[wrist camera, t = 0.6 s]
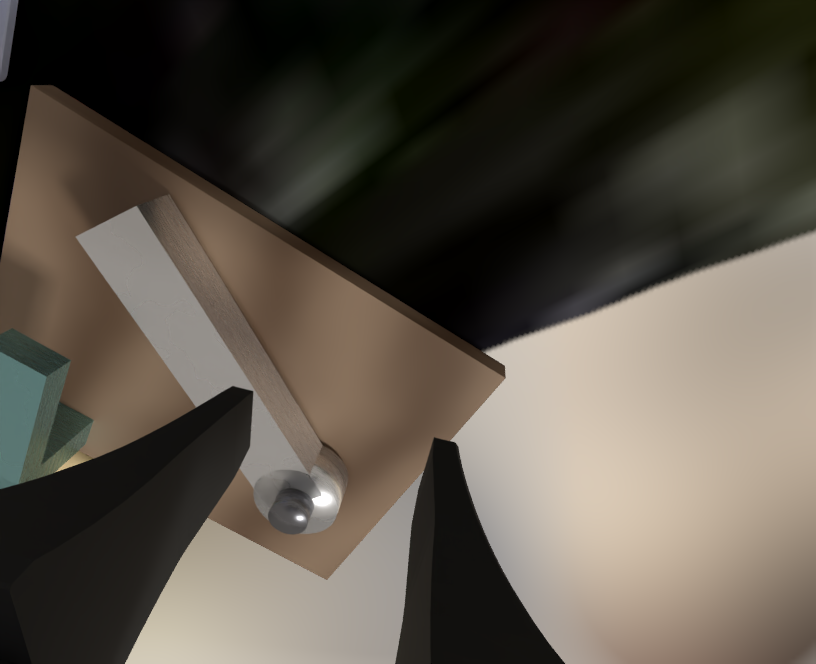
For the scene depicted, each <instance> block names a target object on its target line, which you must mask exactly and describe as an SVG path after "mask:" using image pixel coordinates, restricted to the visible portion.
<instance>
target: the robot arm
mask: <svg viewBox="0 0 816 664" xmlns="http://www.w3.org/2000/svg"><path fill="white" fill-rule="evenodd" d="M17 7H18V0H0V81H4V80H5V79H6V77H7V74H8V67H9V60H10V54H11V47H12V40H13V34H14V27H15V20H16V13H17ZM252 408H253V391H251V390H247V389H243V388H239V387H235V386H232V387H230V388H228V389H226V390H225V391H223V392H221V393H219V394H218V395H216V396H214V397H213V398H211V399H209V400H208V401H206V402H204V403H203V404H201V405H199V406H198V407H196V408H194V409H193V410H191V411H189V412H187V413H186V414H184V415H182V416H180V417H179V418H177V419H175V420H173V421H172V422H170V423H168V424H166V425H165V426H163V427H161V428H159V429H157V430H155V431H153V432H151V433H149V434H147V435H145V436H143V437H141V438H139V439H137V440H135V441H133V442H131V443H129V444H127V445H125V446H123V447H120V448H118V449H116V450H113V451H111V452H109V453H106V454H104V455H102V456H99V457H97V458H94V459H92V460H89V461H86V462H84V463H81V464H78V465H75V466H72V467H70V468H67V469H64V470H61V471H58V472H55V473H53V474H50V475H47V476H44V477H40V478H37V479H34V480H30V481H27V482H24V483H20V484H17V485H13V486H9V487H6V488H2V489H0V664H125V662H126V660H127V658H128V656H129V654H130V652H131V650H132V648H133V646H134V644H135V642H136V640H137V638H138V636H139V634H140V632H141V630H142V628H143V627H144V625H145V623H146V621H147V619H148V617H149V615H150V613H151V611H152V609H153V607H154V605H155V604H156V602H157V600H158V598H159V596H160V594H161V592H162V591H163V589H164V587H165V585H166V583H167V581H168V580H169V578H170V576H171V574H172V572H173V571H174V569H175V567H176V565H177V563H178V561H179V560H180V558H181V557H182V555H183V553H184V552H185V550H186V549H187V547H188V545H189V544H190V542H191V541H192V539H193V538H194V537H195V535H196V534H197V532H198V531H199V529H200V528H201V526H202V525H203V523H204V522H205V520H206V519H207V518H208V516H209V515H210V513H211V512H212V510H213V509H214V507H215V506H216V504H217V503H218V501H219V500H220V499H221V497H222V496H223V494H224V493H225V491H226V490H227V488H228V487H229V485H230V484H231V482H232V481H233V479H234V477H235V475H236V474H237V472H238V470H239V468H240V466H241V464H242V462H243V460H244V458H245V456H246V454H247V452H248V450H249V448H250V440H251V424H252ZM395 664H565V663H564V662H563V661H562V659H561V658H560V657H559V656H558V654H557V653H556V652H555V651H554V649H553V648H552V647H551V645H550V644H549V643H548V642H547V640H546V639H545V637H544V636H543V634H542V633H541V632H540V630H539V629H538V627H537V626H536V624H535V623H534V622H533V620H532V618H531V617H530V615H529V614H528V612H527V611H526V609H525V607H524V606H523V604H522V602H521V601H520V600H519V598H518V596H517V595H516V593H515V591H514V590H513V588H512V586H511V585H510V583H509V581H508V579H507V577H506V576H505V574H504V572H503V570H502V568H501V566H500V564H499V563H498V560H497V558H496V557H495V555H494V552H493V550H492V548H491V546H490V544H489V542H488V540H487V537H486V535H485V533H484V530H483V528H482V525H481V523H480V520H479V518H478V515H477V513H476V510H475V507H474V504H473V501H472V498H471V495H470V492H469V489H468V486H467V483H466V479H465V476H464V472H463V468H462V464H461V460H460V455H459V449H458V446H457V444H456V443H455V442H451V441H447V440H443V439H439V438H435V437H434V439H433V442H432V445H431V449H430V452H429V456H428V459H427V462H426V466H425V469H424V473H423V476H422V480H421V483H420V486H419V490H418V495H417V500H416V505H415V510H414V515H413V520H412V527H411V538H410V550H409V562H408V574H407V586H406V597H405V608H404V615H403V623H402V629H401V634H400V640H399V646H398V652H397V657H396V663H395Z"/></svg>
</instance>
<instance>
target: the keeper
mask: <svg viewBox="0 0 816 664" xmlns="http://www.w3.org/2000/svg"><path fill="white" fill-rule="evenodd" d="M70 363H71V360H70V359H68V358H66V357H64V356H62V355H61V354H59V353H57V352H55V351H53V350H51V349H50V348H48V347H46V346H44V345H42V344H40V343H39V342H37V341H35V340H33V339H31V338H30V337H28V336H26V335H24V334H22V333H20V332H19V331H17V330H15V329H13V328H11V329H10V330H8V331H6V332H4V333H2V334H0V489H2V488H6V487H9V486H13V485H17V484H20V483H24V482H27V481H30V480H34V479H37V478H40V477H44V476H47V475H50V474H53V473H54V472H56V471H57V470H58V469H59V468H60V467H61V466H62V465H63V464H64V463H65V462H67V461H68V460H69V459H70V458H71V457H72V456H73V455H74V454H75V453H76V452H78V451H79V450H80V449H81V448H82V447H83V446H84V445H85V444H86V441H87V438H88V435H89V433H90V430H91V427H92V424H93V421H94V420H93V419H91V418H89V417H87V416H85V415H83V414H82V413H80V412H78V411H76V410H74V409H72V408H70V407H68V406H67V405H65V404H63V403H61V402H59V401H60V397H61V394H62V390H63V387H64V383H65V380H66V376H67V373H68V370H69V366H70Z"/></svg>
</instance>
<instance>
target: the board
mask: <svg viewBox="0 0 816 664" xmlns="http://www.w3.org/2000/svg"><path fill="white" fill-rule="evenodd" d="M168 194H170V196H171V197H172V199H173V201H174V202H175V204H176V206H177V207H178V209H179V211H180V212H181V214H182V215H183V217H184V219H185V220H186V222H187V224H188V225H189V227H190V229H191V230H192V232H193V233H194V235H195V237H196V238H197V240H198V242H199V243H200V245H201V247H202V248H203V250H204V252H205V253H206V255H207V256H208V258H209V260H210V261H211V263H212V265H213V266H214V268H215V270H216V271H217V273H218V274H219V276H220V278H221V279H222V281H223V283H224V284H225V286H226V288H227V289H228V291H229V292H230V294H231V296H232V297H233V299H234V301H235V302H236V304H237V306H238V307H239V309H240V311H241V312H242V314H243V315H244V317H245V319H246V320H247V322H248V324H249V325H250V327H251V329H252V330H253V332H254V333H255V335H256V337H257V338H258V340H259V342H260V343H261V345H262V347H263V348H264V350H265V352H266V353H267V355H268V356H269V358H270V360H271V361H272V363H273V365H274V366H275V368H276V370H277V371H278V373H279V374H280V376H281V378H282V379H283V381H284V383H285V384H286V386H287V388H288V389H289V391H290V392H291V394H292V396H293V397H294V399H295V401H296V402H297V404H298V406H299V407H300V409H301V411H302V412H303V414H304V415H305V417H306V419H307V420H308V422H309V424H310V425H311V427H312V429H313V430H314V432H315V433H316V435H317V437H318V438H319V440H320V442H321V443H322V445H323V446H325V447H327V448H329V449H330V450H332V451H333V452H334V453H336V454H337V455H338V456H339V457H340V459H341V460H342V461H343V463H344V464H345V466H346V468H347V471H348V484H347V487H346V490H345V493H344V496H343V499H342V502H341V505H340V508H339V511H338V513H337V516H336V519H335V521H334V522H333V524H332V525H331V526H329V527H328V528H327V529H325V530H323V531H321V532H317V533H312V534H300V533H299V534H294V535H291V534H285V533H282V532H280V531H278V530H277V529H275V528H274V527H273V526H272V525H271V524H270V522H269V520H268V519H266V518H265V517H264V516H263V515H262V513H261V512H260V511H259V509H258V508H257V506H256V504H255V501H254V495H253V492H254V488H253V487H252V485H251V484H250V482H249V481H248V480H247V478H246V477H245V475H244V474H243V473H242V471H241V470H240V468H239V470H238V472H237V474H236V475H235V477H234V479H233V481H232V482H231V484H230V485H229V487H228V488H227V490H226V491H225V493H224V494H223V496H222V497H221V499H220V500H219V501H218V503H217V504H216V506H215V507H214V509H213V510H212V512H211V513H210V515H209V516H208V518H209V519H211V520H213V521H215V522H217V523H219V524H221V525H223V526H224V527H226V528H228V529H230V530H232V531H234V532H236V533H238V534H240V535H242V536H244V537H246V538H248V539H249V540H251V541H253V542H255V543H257V544H259V545H261V546H263V547H265V548H267V549H269V550H271V551H273V552H274V553H276V554H278V555H280V556H282V557H284V558H286V559H288V560H290V561H292V562H294V563H295V564H298V565H299V566H301V567H303V568H305V569H307V570H309V571H311V572H313V573H315V574H317V575H318V576H320V577H322V578H324V579H326V580H327V579H328V578H329V577H330V576H331V575H332V574H333V572H334V571H335V570H336V569H337V568H338V567H339V565H340V564H341V563H342V562H343V561H344V560H345V559H346V558H347V556H348V555H349V554H350V553H351V552H352V551H353V550H354V549H355V548H356V546H357V545H358V544H359V543H360V542H361V541H362V540H363V538H364V537H365V536H366V535H367V534H368V533H369V532H370V531H371V529H372V528H373V527H374V526H375V525H376V524H377V523H378V521H379V520H380V519H381V518H382V517H383V516H384V515H385V514H386V512H387V511H388V510H389V509H390V508H391V507H392V506H393V505H394V503H395V502H396V501H397V500H398V499H399V498H400V496H401V495H402V494H403V493H404V492H405V491H406V490H407V489H408V488H409V487H410V485H411V484H412V483H413V482H414V481H415V480H416V479H417V478H418V476H419V475H420V474H421V473H422V472H423V471H424V469H425V466H426V462H427V459H428V456H429V452H430V449H431V445H432V442H433V439H434V437H435V438H439V439H443V440H447V441H450V440H451V439H452V438H453V437H454V436H455V434H456V433H457V432H458V431H459V430H460V429H461V428H462V427H463V425H464V424H465V423H466V422H467V421H468V420H469V419H470V417H471V416H472V415H473V414H474V413H475V412H476V411H477V410H478V409H479V407H480V406H481V405H482V404H483V403H484V402H485V401H486V400H487V398H488V397H489V396H490V395H491V394H492V393H493V392H494V391H495V389H496V388H497V387H498V386H499V385H500V383H501V382H502V381H503V380H504V379H505V366H504V365H502V364H501V363H499V362H498V361H496V360H495V359H493V358H491V357H490V356H488V355H486V354H485V353H483V352H482V351H480V350H478V349H477V348H475V347H474V346H472V345H470V344H469V343H467V342H466V341H464V340H462V339H461V338H459V337H457V336H456V335H454V334H453V333H451V332H449V331H448V330H446V329H445V328H443V327H441V326H440V325H438V324H437V323H435V322H433V321H432V320H430V319H428V318H427V317H425V316H424V315H422V314H420V313H419V312H417V311H416V310H414V309H412V308H411V307H409V306H408V305H406V304H404V303H403V302H401V301H399V300H398V299H396V298H395V297H393V296H391V295H390V294H388V293H387V292H385V291H383V290H382V289H380V288H379V287H377V286H375V285H374V284H372V283H370V282H369V281H367V280H366V279H364V278H362V277H361V276H359V275H358V274H356V273H354V272H353V271H351V270H350V269H348V268H346V267H345V266H343V265H341V264H340V263H338V262H337V261H335V260H333V259H332V258H330V257H329V256H327V255H325V254H324V253H322V252H321V251H319V250H317V249H316V248H314V247H312V246H311V245H309V244H308V243H306V242H304V241H303V240H301V239H300V238H298V237H296V236H295V235H293V234H292V233H290V232H288V231H287V230H285V229H283V228H282V227H280V226H279V225H277V224H275V223H274V222H272V221H271V220H269V219H267V218H266V217H264V216H263V215H261V214H259V213H258V212H256V211H254V210H253V209H251V208H250V207H248V206H246V205H245V204H243V203H242V202H240V201H238V200H237V199H235V198H233V197H232V196H230V195H229V194H227V193H225V192H224V191H222V190H221V189H219V188H217V187H216V186H214V185H213V184H211V183H209V182H208V181H206V180H204V179H203V178H201V177H200V176H198V175H196V174H195V173H193V172H192V171H190V170H188V169H187V168H185V167H184V166H182V165H180V164H179V163H177V162H175V161H174V160H172V159H171V158H169V157H167V156H166V155H164V154H163V153H161V152H159V151H158V150H156V149H155V148H153V147H151V146H150V145H148V144H146V143H145V142H143V141H142V140H140V139H138V138H137V137H135V136H134V135H132V134H130V133H129V132H127V131H126V130H124V129H122V128H121V127H119V126H117V125H116V124H114V123H113V122H111V121H109V120H108V119H106V118H105V117H103V116H101V115H100V114H98V113H97V112H95V111H93V110H92V109H90V108H88V107H87V106H85V105H84V104H82V103H80V102H79V101H77V100H76V99H74V98H72V97H71V96H69V95H68V94H66V93H64V92H63V91H61V90H59V89H58V88H56V87H55V86H53V85H31V88H30V94H29V99H28V105H27V111H26V117H25V123H24V128H23V134H22V140H21V146H20V151H19V157H18V163H17V169H16V175H15V180H14V186H13V192H12V198H11V204H10V209H9V215H8V221H7V227H6V232H5V238H4V244H3V250H2V256H1V261H0V334H2V333H4V332H6V331H8V330H10V329H11V328H13V329H15V330H17V331H19V332H20V333H22V334H24V335H26V336H28V337H30V338H31V339H33V340H35V341H37V342H39V343H40V344H42V345H44V346H46V347H48V348H50V349H51V350H53V351H55V352H57V353H59V354H61V355H62V356H64V357H66V358H68V359H70V360H71V363H70V366H69V370H68V373H67V376H66V380H65V383H64V387H63V390H62V394H61V397H60V401H59V402H61V403H63V404H65V405H67V406H68V407H70V408H72V409H74V410H76V411H78V412H80V413H82V414H83V415H85V416H87V417H89V418H91V419H93V420H94V421H93V424H92V427H91V430H90V433H89V435H88V438H87V441H86V444H85V445H84V446H83V447H82V448H81V449H80V450H79V451H81V452H83V453H85V454H86V455H88V456H90V457H92V458H97V457H99V456H102V455H104V454H106V453H109V452H111V451H113V450H116V449H118V448H120V447H123V446H125V445H127V444H129V443H131V442H133V441H135V440H137V439H139V438H141V437H143V436H145V435H147V434H149V433H151V432H153V431H155V430H157V429H159V428H161V427H163V426H165V425H166V424H168V423H170V422H172V421H173V420H175V419H177V418H179V417H180V416H182V415H184V414H186V413H187V412H189V411H191V410H193V409H194V408H196V406H195V405H194V403H193V402H192V401H191V399H190V398H189V396H188V395H187V394H186V392H185V391H184V389H183V388H182V387H181V385H180V384H179V382H178V381H177V379H176V378H175V377H174V375H173V374H172V372H171V371H170V370H169V368H168V367H167V365H166V364H165V363H164V361H163V360H162V358H161V357H160V355H159V354H158V353H157V351H156V350H155V348H154V347H153V346H152V344H151V343H150V341H149V340H148V339H147V337H146V336H145V334H144V333H143V331H142V330H141V329H140V327H139V326H138V324H137V323H136V322H135V320H134V319H133V317H132V316H131V315H130V313H129V312H128V310H127V309H126V307H125V306H124V305H123V303H122V302H121V300H120V299H119V298H118V296H117V295H116V293H115V292H114V291H113V289H112V288H111V286H110V285H109V284H108V282H107V281H106V279H105V278H104V276H103V275H102V274H101V272H100V271H99V269H98V268H97V267H96V265H95V264H94V262H93V261H92V260H91V258H90V257H89V255H88V254H87V252H86V251H85V250H84V248H83V247H82V245H81V244H80V243H79V241H78V240H77V238H76V236H78V235H80V234H82V233H84V232H86V231H88V230H90V229H92V228H94V227H96V226H97V225H99V224H101V223H103V222H105V221H107V220H109V219H111V218H113V217H115V216H117V215H119V214H121V213H123V212H125V211H127V210H129V209H131V208H133V207H135V206H137V205H140V204H143V203H146V202H148V201H151V200H154V199H157V198H160V197H162V196H165V195H168Z"/></svg>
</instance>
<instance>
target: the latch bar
mask: <svg viewBox="0 0 816 664" xmlns="http://www.w3.org/2000/svg"><path fill="white" fill-rule="evenodd" d="M76 238H77V240H78V241H79V243H80V244H81V245H82V247H83V248H84V250H85V251H86V252H87V254H88V255H89V257H90V258H91V260H92V261H93V262H94V264H95V265H96V267H97V268H98V269H99V271H100V272H101V274H102V275H103V276H104V278H105V279H106V281H107V282H108V284H109V285H110V286H111V288H112V289H113V291H114V292H115V293H116V295H117V296H118V298H119V299H120V300H121V302H122V303H123V305H124V306H125V307H126V309H127V310H128V312H129V313H130V315H131V316H132V317H133V319H134V320H135V322H136V323H137V324H138V326H139V327H140V329H141V330H142V331H143V333H144V334H145V336H146V337H147V339H148V340H149V341H150V343H151V344H152V346H153V347H154V348H155V350H156V351H157V353H158V354H159V355H160V357H161V358H162V360H163V361H164V363H165V364H166V365H167V367H168V368H169V370H170V371H171V372H172V374H173V375H174V377H175V378H176V379H177V381H178V382H179V384H180V385H181V387H182V388H183V389H184V391H185V392H186V394H187V395H188V396H189V398H190V399H191V401H192V402H193V403H194V405H195V406H196V407H198V406H199V405H201V404H203V403H204V402H206V401H208V400H209V399H211V398H213V397H214V396H216V395H218V394H219V393H221V392H223V391H225V390H226V389H228V388H230V387H232V386H235V387H239V388H243V389H247V390H251V391H253V408H252V424H251V440H250V448H249V450H248V452H247V454H246V456H245V458H244V460H243V462H242V464H241V466H240V470H241V471H242V473H243V474H244V475H245V477H246V478H247V480H248V481H249V482H250V484H251V485H252V487H253V488H254V492H253V495H254V501H255V504H256V506H257V508H258V509H259V511H260V512H261V513H262V515H263V516H264V517H265V518H266V519H268V520H269V522H270V524H271V525H272V526H273V527H274V528H275V529H277V530H278V531H280V532H282V533H285V534H291V535H294V534H299V533H300V534H312V533H317V532H321V531H323V530H325V529H327V528H328V527H329V526H331V525H332V524H333V522H334V521H335V519H336V516H337V513H338V511H339V508H340V505H341V502H342V499H343V496H344V493H345V490H346V487H347V484H348V471H347V468H346V466H345V464H344V463H343V461H342V460H341V459H340V457H339V456H338V455H337V454H336V453H334V452H333V451H332V450H330V449H329V448H327V447H325V446H323V445H322V443H321V442H320V440H319V438H318V437H317V435H316V433H315V432H314V430H313V429H312V427H311V425H310V424H309V422H308V420H307V419H306V417H305V415H304V414H303V412H302V411H301V409H300V407H299V406H298V404H297V402H296V401H295V399H294V397H293V396H292V394H291V392H290V391H289V389H288V388H287V386H286V384H285V383H284V381H283V379H282V378H281V376H280V374H279V373H278V371H277V370H276V368H275V366H274V365H273V363H272V361H271V360H270V358H269V356H268V355H267V353H266V352H265V350H264V348H263V347H262V345H261V343H260V342H259V340H258V338H257V337H256V335H255V333H254V332H253V330H252V329H251V327H250V325H249V324H248V322H247V320H246V319H245V317H244V315H243V314H242V312H241V311H240V309H239V307H238V306H237V304H236V302H235V301H234V299H233V297H232V296H231V294H230V292H229V291H228V289H227V288H226V286H225V284H224V283H223V281H222V279H221V278H220V276H219V274H218V273H217V271H216V270H215V268H214V266H213V265H212V263H211V261H210V260H209V258H208V256H207V255H206V253H205V252H204V250H203V248H202V247H201V245H200V243H199V242H198V240H197V238H196V237H195V235H194V233H193V232H192V230H191V229H190V227H189V225H188V224H187V222H186V220H185V219H184V217H183V215H182V214H181V212H180V211H179V209H178V207H177V206H176V204H175V202H174V201H173V199H172V197H171V196H170V194H168V195H165V196H162V197H160V198H157V199H154V200H151V201H148V202H146V203H143V204H140V205H137V206H135V207H133V208H131V209H129V210H127V211H125V212H123V213H121V214H119V215H117V216H115V217H113V218H111V219H109V220H107V221H105V222H103V223H101V224H99V225H97V226H96V227H94V228H92V229H90V230H88V231H86V232H84V233H82V234H80V235H78V236H76Z"/></svg>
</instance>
